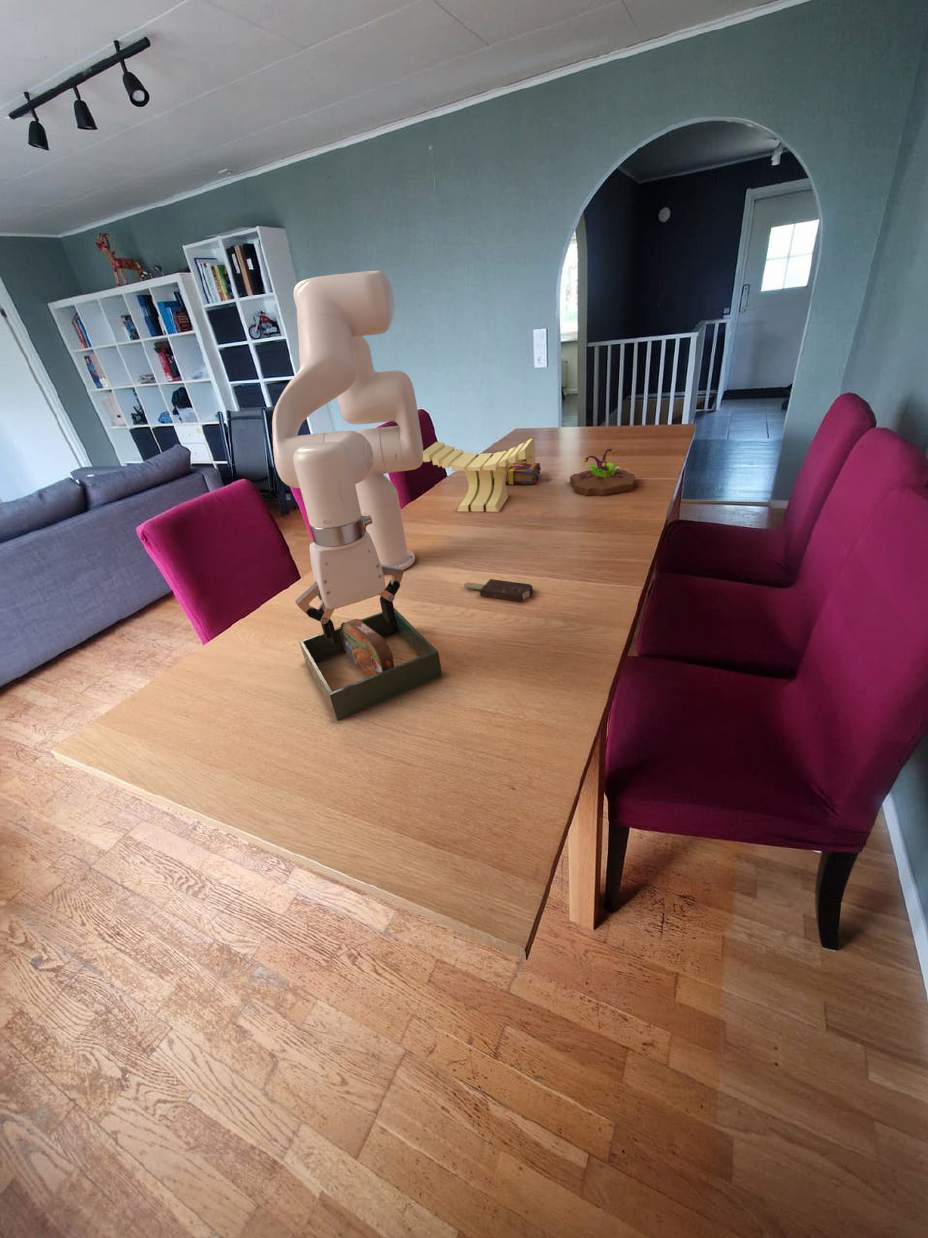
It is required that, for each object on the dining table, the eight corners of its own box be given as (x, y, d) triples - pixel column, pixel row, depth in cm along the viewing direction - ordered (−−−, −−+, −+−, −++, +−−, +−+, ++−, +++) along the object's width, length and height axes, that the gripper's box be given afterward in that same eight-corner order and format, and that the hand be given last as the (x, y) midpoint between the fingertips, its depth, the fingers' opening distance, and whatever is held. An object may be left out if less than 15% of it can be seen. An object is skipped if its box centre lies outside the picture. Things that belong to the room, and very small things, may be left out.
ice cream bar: (459, 593, 109) (525, 603, 103) (458, 586, 108) (525, 596, 102) (470, 582, 113) (534, 591, 107) (469, 575, 112) (534, 584, 106)
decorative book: (499, 475, 183) (498, 460, 181) (543, 475, 178) (543, 460, 175) (490, 484, 174) (488, 469, 172) (536, 485, 169) (536, 469, 166)
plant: (643, 492, 153) (647, 453, 147) (577, 497, 154) (578, 460, 148) (626, 473, 170) (628, 438, 164) (567, 479, 171) (567, 444, 165)
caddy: (306, 664, 92) (299, 641, 89) (398, 630, 99) (394, 607, 96) (337, 720, 78) (329, 695, 75) (442, 676, 85) (438, 651, 82)
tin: (344, 655, 93) (333, 616, 88) (359, 648, 94) (350, 609, 90) (385, 694, 82) (375, 651, 78) (401, 685, 84) (393, 643, 79)
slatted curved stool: (536, 494, 161) (534, 435, 152) (527, 511, 148) (524, 448, 139) (446, 494, 170) (439, 439, 160) (430, 511, 157) (422, 452, 148)
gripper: (383, 511, 81) (400, 605, 90) (274, 539, 75) (303, 638, 83) (402, 522, 76) (418, 622, 84) (285, 555, 69) (316, 659, 77)
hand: (361, 630), depth 84 cm, fingers open, 9 cm apart
